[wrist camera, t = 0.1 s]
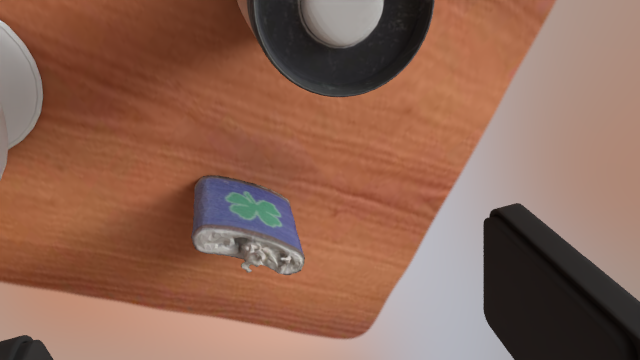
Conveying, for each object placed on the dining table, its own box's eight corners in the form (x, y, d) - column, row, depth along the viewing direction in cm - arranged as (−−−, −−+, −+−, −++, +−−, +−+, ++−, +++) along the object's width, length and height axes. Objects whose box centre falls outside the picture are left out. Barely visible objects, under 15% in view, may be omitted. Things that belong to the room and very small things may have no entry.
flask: (190, 194, 42) (185, 264, 33) (202, 166, 41) (200, 230, 32) (284, 222, 45) (303, 293, 36) (296, 196, 45) (320, 263, 35)
